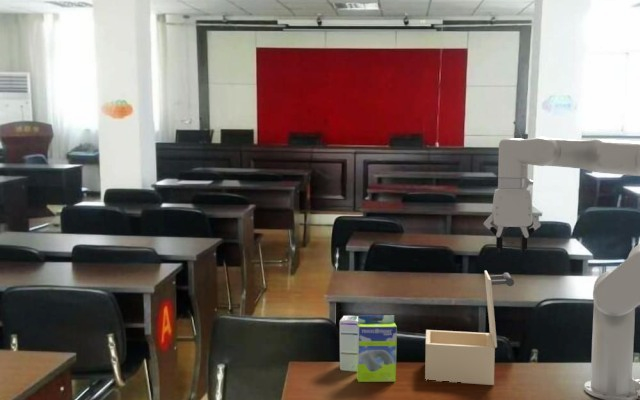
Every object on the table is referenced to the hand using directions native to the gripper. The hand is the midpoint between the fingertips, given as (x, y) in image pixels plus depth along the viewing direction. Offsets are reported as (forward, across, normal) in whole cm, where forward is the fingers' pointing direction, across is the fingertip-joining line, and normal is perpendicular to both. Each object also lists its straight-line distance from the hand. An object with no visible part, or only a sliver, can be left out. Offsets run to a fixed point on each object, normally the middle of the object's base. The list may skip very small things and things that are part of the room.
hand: (511, 250), depth 167 cm
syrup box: (+35, +44, +1) cm, 56 cm away
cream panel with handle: (+16, +6, 0) cm, 17 cm away
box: (+35, +36, +9) cm, 51 cm away
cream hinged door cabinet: (+35, +14, 0) cm, 37 cm away
